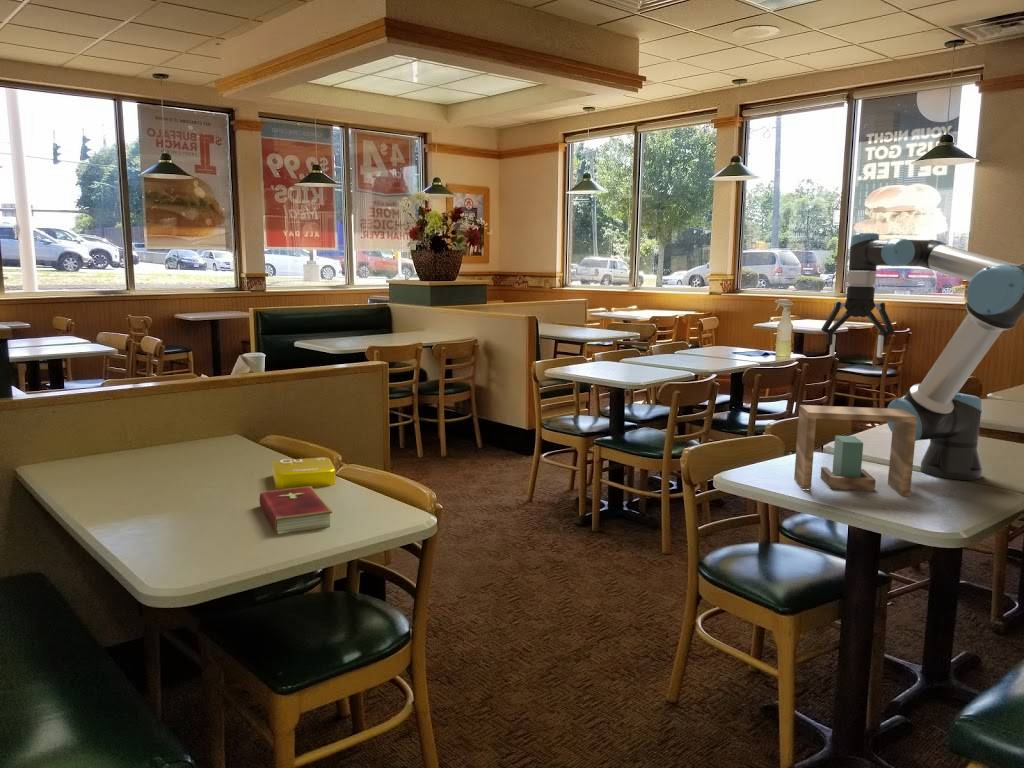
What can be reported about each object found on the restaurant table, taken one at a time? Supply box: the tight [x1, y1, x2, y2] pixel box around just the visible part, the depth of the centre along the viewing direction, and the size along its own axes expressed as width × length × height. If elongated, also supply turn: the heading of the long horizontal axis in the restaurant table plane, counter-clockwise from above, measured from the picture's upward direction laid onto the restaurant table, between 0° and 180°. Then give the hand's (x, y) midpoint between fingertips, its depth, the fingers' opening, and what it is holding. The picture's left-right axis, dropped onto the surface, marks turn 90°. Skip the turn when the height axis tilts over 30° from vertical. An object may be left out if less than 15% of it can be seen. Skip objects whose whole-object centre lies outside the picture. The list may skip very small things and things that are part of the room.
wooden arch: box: [793, 404, 917, 497], centre depth 203 cm, size 26×14×20 cm, turn 81°
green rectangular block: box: [831, 435, 864, 477], centre depth 206 cm, size 5×8×12 cm, turn 171°
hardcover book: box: [259, 486, 333, 536], centre depth 173 cm, size 12×21×4 cm, turn 26°
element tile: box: [271, 456, 337, 490], centre depth 202 cm, size 15×15×5 cm
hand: (855, 356), depth 233 cm, fingers open, 13 cm apart
